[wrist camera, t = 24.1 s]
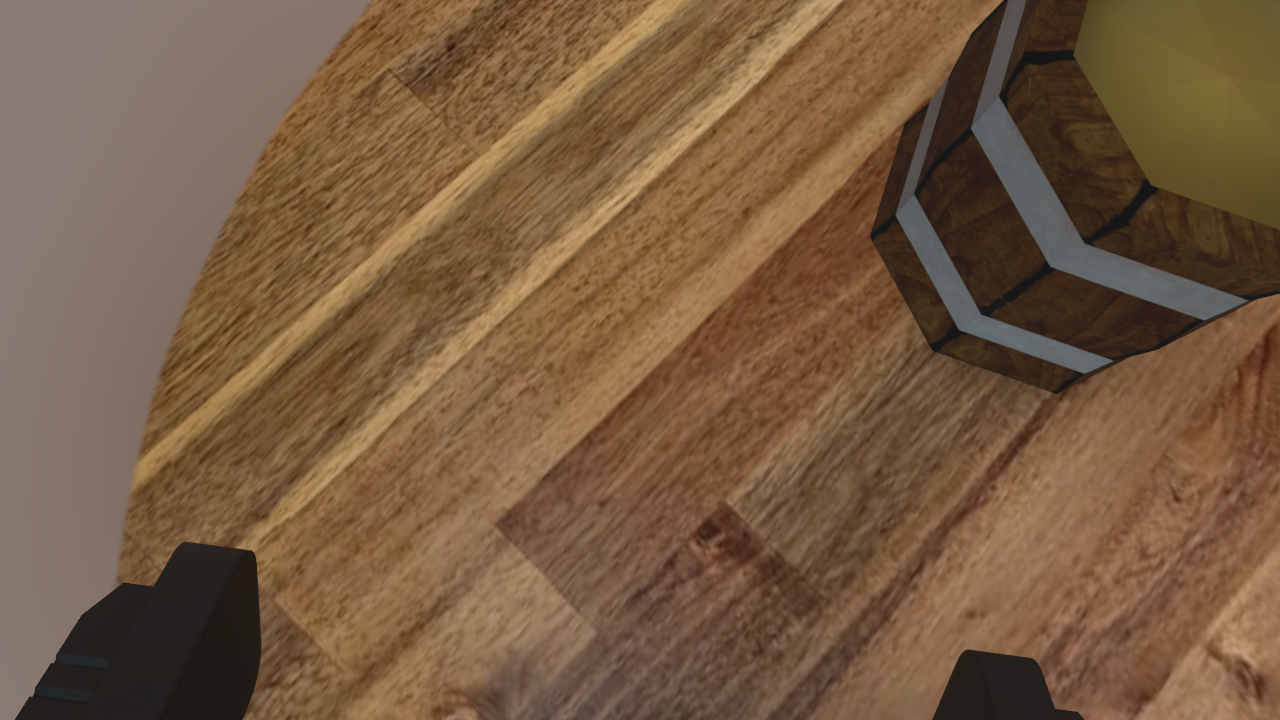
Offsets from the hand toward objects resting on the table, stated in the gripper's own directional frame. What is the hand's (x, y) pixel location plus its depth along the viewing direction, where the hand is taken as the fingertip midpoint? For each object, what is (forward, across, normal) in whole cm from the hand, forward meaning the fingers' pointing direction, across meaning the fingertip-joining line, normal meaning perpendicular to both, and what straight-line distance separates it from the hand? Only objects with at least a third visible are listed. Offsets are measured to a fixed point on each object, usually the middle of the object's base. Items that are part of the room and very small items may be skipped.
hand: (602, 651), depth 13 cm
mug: (+35, -18, +6) cm, 39 cm away
